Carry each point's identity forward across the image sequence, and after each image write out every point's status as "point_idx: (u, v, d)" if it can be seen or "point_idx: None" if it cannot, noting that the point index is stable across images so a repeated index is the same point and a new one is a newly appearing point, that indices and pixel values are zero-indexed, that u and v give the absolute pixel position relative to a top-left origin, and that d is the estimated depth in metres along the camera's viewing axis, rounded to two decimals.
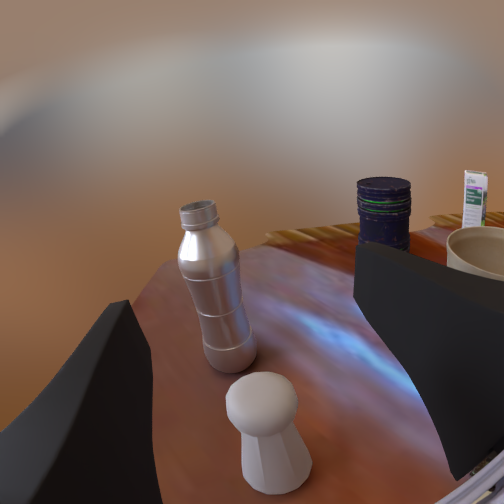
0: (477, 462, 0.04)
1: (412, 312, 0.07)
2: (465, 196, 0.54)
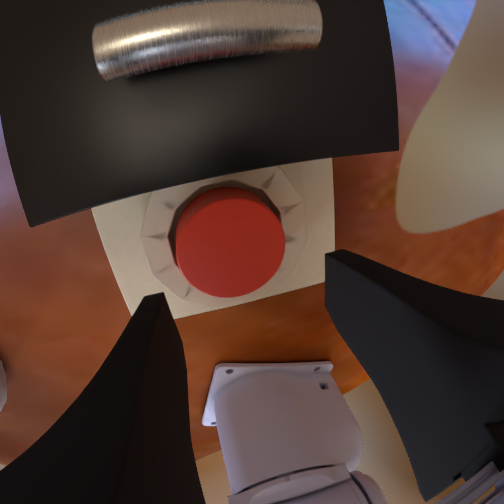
0: (444, 486, 0.04)
1: (378, 326, 0.07)
2: None
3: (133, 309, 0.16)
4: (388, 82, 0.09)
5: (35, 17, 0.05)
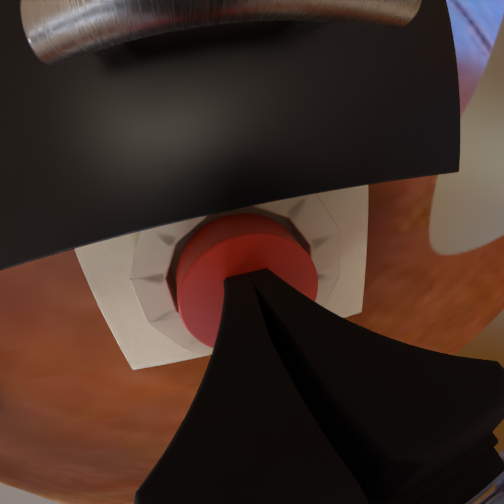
0: None
1: (284, 357, 0.06)
2: None
3: (128, 352, 0.13)
4: (451, 85, 0.06)
5: None
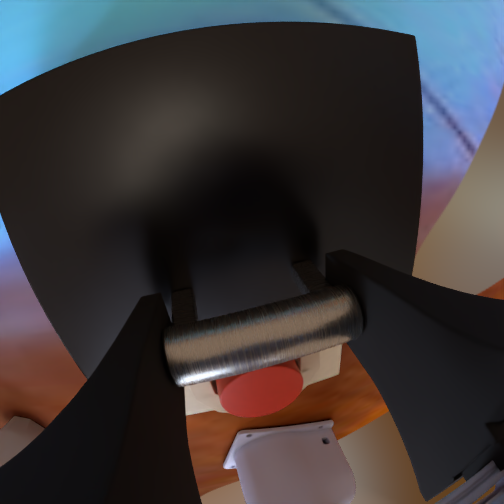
0: (445, 486, 0.04)
1: (379, 326, 0.07)
2: None
3: None
4: (406, 271, 0.12)
5: (58, 237, 0.08)
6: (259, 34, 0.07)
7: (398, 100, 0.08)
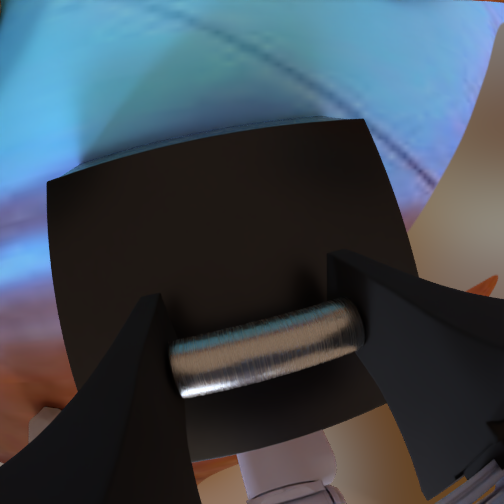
0: (446, 485, 0.04)
1: (380, 325, 0.07)
2: None
3: None
4: None
5: (95, 285, 0.10)
6: (246, 137, 0.12)
7: (362, 168, 0.12)
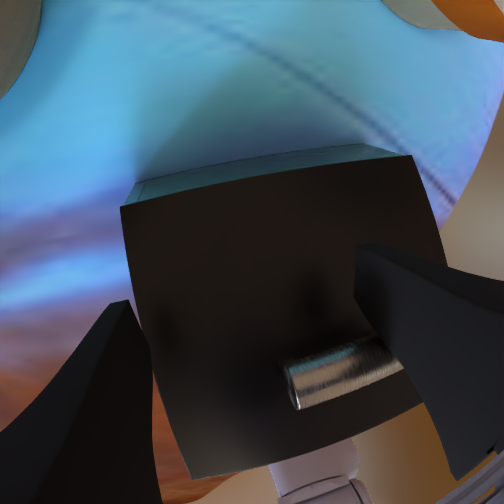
0: (477, 462, 0.04)
1: (412, 312, 0.07)
2: None
3: None
4: None
5: (186, 312, 0.11)
6: (320, 173, 0.13)
7: (412, 202, 0.13)
